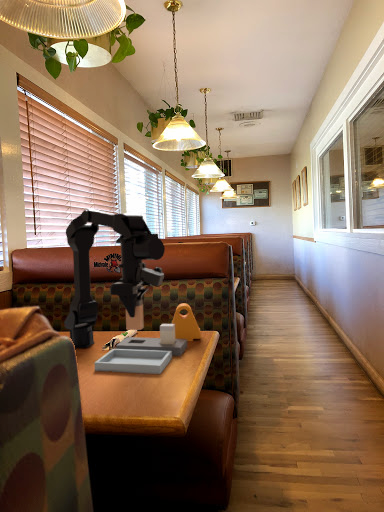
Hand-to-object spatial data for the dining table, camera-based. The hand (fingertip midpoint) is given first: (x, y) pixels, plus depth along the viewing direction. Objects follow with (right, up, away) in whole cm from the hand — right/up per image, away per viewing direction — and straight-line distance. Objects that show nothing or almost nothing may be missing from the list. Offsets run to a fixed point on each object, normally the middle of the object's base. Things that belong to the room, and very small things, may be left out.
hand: (134, 315), depth 102 cm
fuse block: (+4, -13, +12) cm, 18 cm away
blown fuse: (0, -4, 0) cm, 4 cm away
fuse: (+9, -13, +11) cm, 19 cm away
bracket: (+13, -12, +25) cm, 31 cm away
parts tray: (0, -13, 0) cm, 13 cm away
